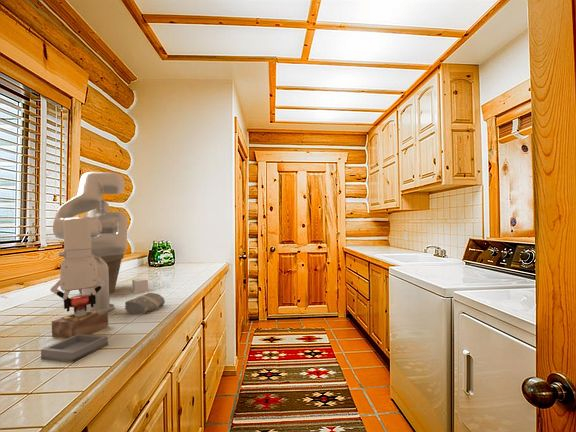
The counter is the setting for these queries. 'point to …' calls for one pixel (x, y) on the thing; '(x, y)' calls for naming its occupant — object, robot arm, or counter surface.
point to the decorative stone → (144, 304)
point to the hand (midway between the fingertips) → (80, 307)
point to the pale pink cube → (140, 285)
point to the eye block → (79, 324)
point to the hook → (80, 304)
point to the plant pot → (112, 270)
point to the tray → (74, 348)
